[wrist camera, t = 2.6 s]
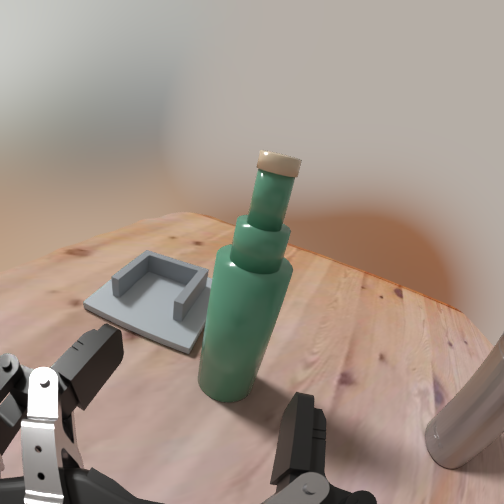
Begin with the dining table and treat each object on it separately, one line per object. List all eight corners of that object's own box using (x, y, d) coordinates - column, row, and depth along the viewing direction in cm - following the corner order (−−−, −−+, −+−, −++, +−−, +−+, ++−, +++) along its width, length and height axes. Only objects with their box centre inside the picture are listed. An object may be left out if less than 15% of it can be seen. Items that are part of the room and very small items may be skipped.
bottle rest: (225, 288, 44) (229, 267, 42) (188, 354, 29) (191, 329, 28) (141, 260, 45) (141, 240, 44) (84, 307, 31) (80, 283, 29)
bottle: (256, 369, 30) (321, 163, 20) (245, 409, 24) (327, 170, 15) (207, 354, 30) (248, 145, 21) (189, 391, 25) (227, 145, 15)
